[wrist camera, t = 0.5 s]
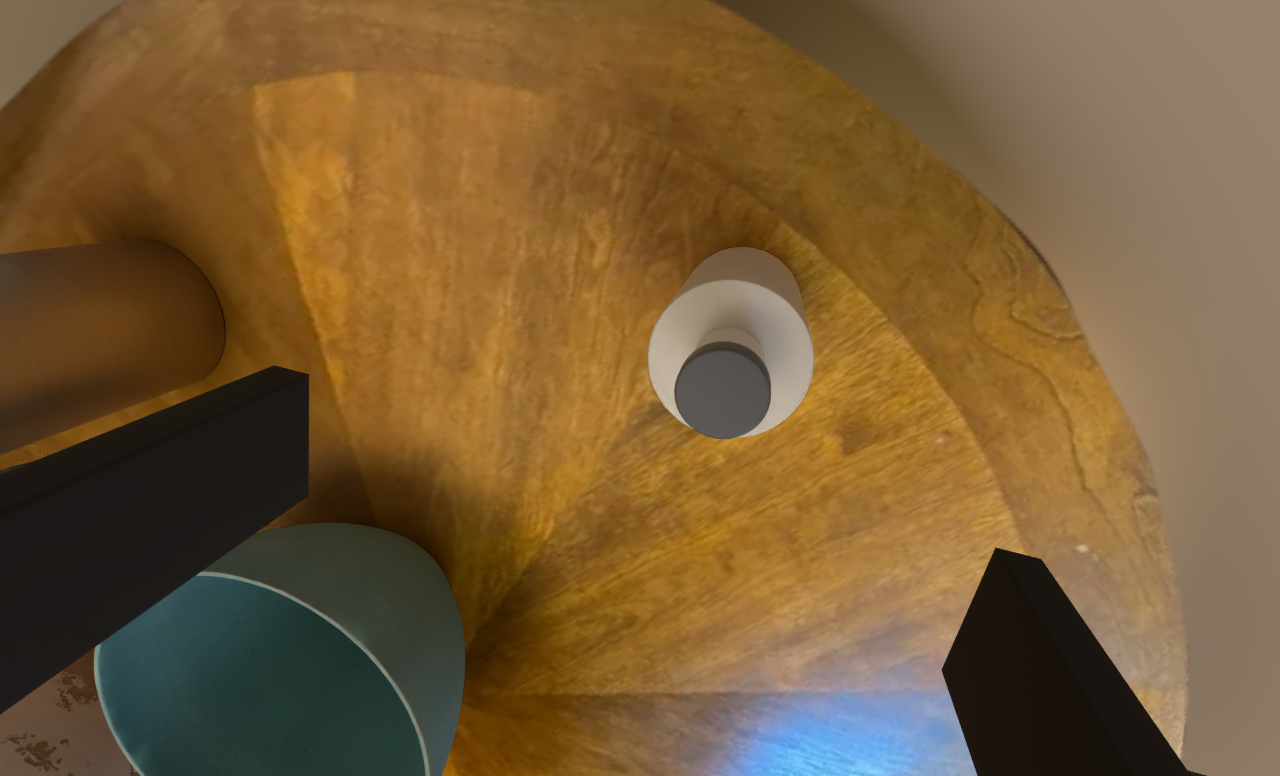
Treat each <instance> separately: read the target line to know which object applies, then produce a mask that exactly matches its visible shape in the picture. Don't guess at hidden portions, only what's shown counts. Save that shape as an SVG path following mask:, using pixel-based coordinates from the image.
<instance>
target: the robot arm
mask: <svg viewBox="0 0 1280 776" xmlns="http://www.w3.org/2000/svg"><path fill="white" fill-rule="evenodd" d="M308 477H309V374H306V373H302V372H298V371H294V370H290V369H286V368H282V367H278V366H271V367H269V368H266V369H264V370H261V371H259V372H256V373H254V374H251V375H249V376H246V377H244V378H241V379H239V380H236V381H234V382H231V383H229V384H226V385H224V386H221V387H219V388H216V389H214V390H211V391H209V392H206V393H204V394H201V395H199V396H196V397H194V398H191V399H189V400H186V401H184V402H181V403H179V404H176V405H174V406H171V407H169V408H166V409H164V410H161V411H159V412H156V413H154V414H151V415H149V416H146V417H144V418H141V419H139V420H136V421H134V422H131V423H129V424H126V425H124V426H121V427H119V428H116V429H114V430H111V431H109V432H106V433H104V434H101V435H99V436H96V437H94V438H91V439H89V440H86V441H84V442H81V443H79V444H76V445H74V446H71V447H69V448H66V449H64V450H61V451H59V452H56V453H54V454H51V455H49V456H46V457H44V458H41V459H39V460H36V461H34V462H29V463H25V464H21V465H16V466H12V467H10V468H7V469H5V470H2V471H0V715H1V714H2V713H3V712H5V711H6V710H8V709H9V708H11V707H12V706H13V705H15V704H16V703H18V702H19V701H20V700H22V699H23V698H25V697H26V696H27V695H29V694H30V693H32V692H33V691H34V690H36V689H37V688H39V687H40V686H41V685H43V684H44V683H46V682H47V681H48V680H50V679H51V678H53V677H54V676H55V675H57V674H58V673H60V672H61V671H63V670H64V669H65V668H67V667H68V666H70V665H71V664H72V663H74V662H75V661H77V660H78V659H79V658H81V657H82V656H84V655H85V654H86V653H88V652H89V651H91V650H92V649H93V648H95V647H96V646H98V645H99V644H100V643H102V642H103V641H105V640H106V639H107V638H109V637H110V636H112V635H113V634H114V633H116V632H117V631H119V630H120V629H122V628H123V627H124V626H126V625H127V624H129V623H130V622H131V621H133V620H134V619H136V618H137V617H138V616H140V615H141V614H143V613H144V612H145V611H147V610H148V609H150V608H151V607H152V606H154V605H155V604H157V603H158V602H159V601H161V600H162V599H164V598H165V597H166V596H168V595H169V594H171V593H172V592H173V591H175V590H176V589H178V588H179V587H181V586H182V585H183V584H185V583H186V582H188V581H189V580H190V579H192V578H193V577H195V576H196V575H197V574H199V573H200V572H202V571H203V570H204V569H206V568H207V567H209V566H210V565H211V564H213V563H214V562H216V561H217V560H218V559H220V558H221V557H223V556H224V555H225V554H227V553H228V552H230V551H231V550H233V549H234V548H235V547H237V546H238V545H240V544H241V543H242V542H244V541H245V540H247V539H248V538H249V537H251V536H252V535H254V534H255V533H256V532H258V531H259V530H261V529H262V528H263V527H265V526H266V525H268V524H269V523H270V522H272V521H273V520H275V519H276V518H277V517H279V516H280V515H282V514H283V513H284V512H286V511H287V510H289V509H290V508H292V507H293V506H294V505H296V504H297V503H299V502H300V501H301V500H303V499H304V498H306V497H307V496H308ZM942 673H943V676H944V679H945V682H946V684H947V687H948V690H949V693H950V696H951V699H952V702H953V705H954V708H955V711H956V714H957V717H958V720H959V723H960V725H961V728H962V731H963V734H964V737H965V740H966V743H967V746H968V749H969V752H970V755H971V758H972V761H973V764H974V767H975V769H976V772H977V775H978V776H1206V775H1202V774H1199V773H1195V772H1191V771H1188V770H1187V769H1186V768H1185V766H1184V765H1183V763H1182V762H1181V761H1180V759H1179V758H1178V756H1177V755H1176V753H1175V752H1174V750H1173V749H1172V748H1171V746H1170V745H1169V743H1168V742H1167V740H1166V739H1165V737H1164V736H1163V735H1162V733H1161V732H1160V730H1159V729H1158V727H1157V726H1156V724H1155V723H1154V722H1153V720H1152V719H1151V717H1150V716H1149V714H1148V713H1147V711H1146V710H1145V709H1144V707H1143V706H1142V704H1141V703H1140V701H1139V700H1138V698H1137V697H1136V696H1135V694H1134V693H1133V691H1132V690H1131V688H1130V687H1129V685H1128V684H1127V683H1126V681H1125V680H1124V678H1123V677H1122V675H1121V674H1120V672H1119V671H1118V669H1117V668H1116V667H1115V665H1114V664H1113V662H1112V661H1111V659H1110V658H1109V656H1108V655H1107V654H1106V652H1105V651H1104V649H1103V648H1102V646H1101V645H1100V643H1099V642H1098V641H1097V639H1096V638H1095V636H1094V635H1093V633H1092V632H1091V630H1090V629H1089V628H1088V626H1087V625H1086V623H1085V622H1084V620H1083V619H1082V617H1081V616H1080V615H1079V613H1078V612H1077V610H1076V609H1075V607H1074V606H1073V604H1072V603H1071V602H1070V600H1069V599H1068V597H1067V596H1066V594H1065V593H1064V591H1063V590H1062V589H1061V587H1060V586H1059V584H1058V583H1057V581H1056V580H1055V578H1054V577H1053V575H1052V574H1051V573H1050V571H1049V570H1048V568H1047V567H1046V565H1045V564H1044V562H1043V561H1042V560H1041V559H1039V558H1035V557H1031V556H1027V555H1023V554H1019V553H1015V552H1011V551H1007V550H1003V549H999V548H995V550H994V552H993V555H992V557H991V559H990V561H989V564H988V566H987V568H986V570H985V573H984V575H983V577H982V579H981V582H980V584H979V586H978V589H977V591H976V593H975V595H974V598H973V600H972V602H971V604H970V607H969V609H968V611H967V614H966V616H965V618H964V620H963V623H962V625H961V627H960V629H959V632H958V634H957V636H956V638H955V641H954V643H953V645H952V648H951V650H950V652H949V654H948V657H947V659H946V661H945V663H944V666H943V668H942Z"/></svg>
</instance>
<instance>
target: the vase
mask: <svg viewBox="0 0 1280 776" xmlns="http://www.w3.org/2000/svg"><path fill="white" fill-rule="evenodd" d="M94 650H95V648H93V649H92V650H91V651H89V652H88V653H86V654H85V655H84V656H82V657H81V658H79V659H78V660H77V661H75V662H74V663H72V664H71V665H70V666H68V667H67V668H65V669H64V670H63V671H61V672H60V673H58V674H57V675H55V676H54V677H53V678H51V679H50V680H48V681H47V682H46V683H44V684H43V685H41V686H40V687H39V688H37V689H36V690H34V691H33V692H32V693H30V694H29V695H27V696H26V697H25V698H23V699H22V700H20V701H19V702H18V703H16V704H15V705H13V706H12V707H11V708H9V709H8V710H6V711H5V712H3V713H2V714H1V715H0V776H140V775H139V773H138V772H137V771H136V770H135V769H134V768H133V766H132V765H131V763H130V762H129V761H128V759H127V758H126V756H125V755H124V753H123V752H122V750H121V749H120V747H119V745H118V743H117V741H116V740H115V738H114V736H113V734H112V732H111V730H110V728H109V726H108V723H107V721H106V718H105V716H104V713H103V710H102V707H101V704H100V701H99V697H98V693H97V688H96V683H95V677H94Z"/></svg>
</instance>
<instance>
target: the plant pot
mask: <svg viewBox="0 0 1280 776" xmlns="http://www.w3.org/2000/svg"><path fill="white" fill-rule="evenodd" d="M94 677H95V683H96V688H97V693H98V697H99V701H100V704H101V707H102V710H103V713H104V716H105V718H106V721H107V723H108V726H109V728H110V730H111V732H112V734H113V736H114V738H115V740H116V741H117V743H118V745H119V747H120V749H121V750H122V752H123V753H124V755H125V756H126V758H127V759H128V761H129V762H130V763H131V765H132V766H133V768H134V769H135V770H136V771H137V772H138V773H139V775H140V776H442V774H443V771H444V768H445V766H446V762H447V759H448V756H449V753H450V750H451V746H452V743H453V739H454V736H455V732H456V728H457V724H458V719H459V714H460V709H461V703H462V696H463V687H464V678H465V641H464V633H463V626H462V621H461V617H460V613H459V609H458V606H457V602H456V599H455V596H454V594H453V591H452V589H451V586H450V584H449V582H448V579H447V577H446V575H445V574H444V572H443V570H442V569H441V567H440V566H439V565H438V563H437V562H436V561H435V560H434V559H433V557H432V556H431V555H430V554H429V553H428V552H426V551H425V550H424V549H423V548H422V547H421V546H419V545H418V544H416V543H415V542H413V541H411V540H409V539H408V538H406V537H404V536H401V535H399V534H396V533H393V532H390V531H386V530H383V529H378V528H374V527H369V526H364V525H357V524H348V523H310V524H302V525H294V526H288V527H282V528H277V529H272V530H268V531H264V532H259V533H255V534H254V535H252V536H251V537H249V538H248V539H247V540H245V541H244V542H242V543H241V544H240V545H238V546H237V547H235V548H234V549H233V550H231V551H230V552H228V553H227V554H225V555H224V556H223V557H221V558H220V559H218V560H217V561H216V562H214V563H213V564H211V565H210V566H209V567H207V568H206V569H204V570H203V571H202V572H200V573H199V574H197V575H196V576H195V577H193V578H192V579H190V580H189V581H188V582H186V583H185V584H183V585H182V586H181V587H179V588H178V589H176V590H175V591H173V592H172V593H171V594H169V595H168V596H166V597H165V598H164V599H162V600H161V601H159V602H158V603H157V604H155V605H154V606H152V607H151V608H150V609H148V610H147V611H145V612H144V613H143V614H141V615H140V616H138V617H137V618H136V619H134V620H133V621H131V622H130V623H129V624H127V625H126V626H124V627H123V628H122V629H120V630H119V631H117V632H116V633H114V634H113V635H112V636H110V637H109V638H107V639H106V640H105V641H103V642H102V643H100V644H99V645H98V646H96V647H95V650H94Z"/></svg>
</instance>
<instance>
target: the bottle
mask: <svg viewBox="0 0 1280 776" xmlns="http://www.w3.org/2000/svg"><path fill="white" fill-rule="evenodd" d="M648 368H649V374H650V378H651V381H652V384H653V387H654V389H655V391H656V393H657V395H658V397H659V398H660V400H661V402H662V403H663V404H664V406H665V407H666V408H667V409H668V410H669V411H670V412H671V413H672V414H673V415H674V416H675V417H676V418H677V419H678V420H680V421H681V422H682V423H684V424H685V425H687V426H689V427H690V428H692V429H694V430H696V431H697V432H699V433H701V434H703V435H705V436H708V437H711V438H717V439H731V438H741V437H747V436H753V435H756V434H759V433H762V432H765V431H767V430H769V429H771V428H773V427H775V426H776V425H778V424H779V423H781V422H782V421H784V420H785V419H786V418H787V417H788V416H790V415H791V413H792V412H793V411H794V410H795V409H796V408H797V407H798V405H799V404H800V403H801V401H802V400H803V398H804V396H805V394H806V392H807V390H808V388H809V385H810V382H811V379H812V374H813V368H814V351H813V345H812V340H811V336H810V331H809V327H808V323H807V319H806V315H805V311H804V306H803V302H802V298H801V294H800V290H799V287H798V284H797V281H796V280H795V278H794V276H793V274H792V273H791V271H790V270H789V269H788V268H787V266H786V265H785V264H784V263H783V262H781V261H780V260H779V259H778V258H776V257H775V256H773V255H771V254H770V253H767V252H765V251H763V250H759V249H756V248H749V247H735V248H729V249H725V250H722V251H719V252H717V253H714V254H713V255H711V256H709V257H708V258H706V259H705V260H704V261H702V262H701V263H700V264H699V265H698V266H697V267H696V268H695V270H694V271H693V272H692V273H691V275H690V276H689V278H688V279H687V280H686V282H685V283H684V284H683V286H682V287H681V288H680V290H679V291H678V292H677V294H676V295H675V297H674V298H673V299H672V301H671V302H670V303H669V305H668V306H667V307H666V309H665V310H664V311H663V313H662V314H661V316H660V317H659V319H658V321H657V323H656V324H655V327H654V329H653V332H652V334H651V338H650V342H649V348H648Z"/></svg>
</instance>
